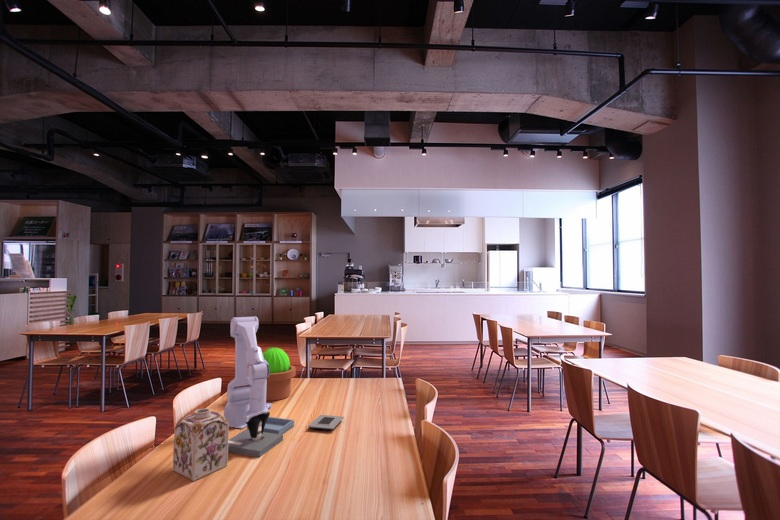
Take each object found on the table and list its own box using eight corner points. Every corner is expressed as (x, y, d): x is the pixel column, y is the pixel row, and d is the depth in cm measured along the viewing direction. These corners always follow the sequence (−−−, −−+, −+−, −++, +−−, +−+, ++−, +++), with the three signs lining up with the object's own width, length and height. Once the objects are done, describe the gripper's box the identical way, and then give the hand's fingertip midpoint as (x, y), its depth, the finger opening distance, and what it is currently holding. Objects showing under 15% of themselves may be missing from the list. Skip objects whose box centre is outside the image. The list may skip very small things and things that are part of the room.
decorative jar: (192, 482, 110) (195, 419, 111) (171, 471, 116) (173, 412, 117) (229, 465, 120) (231, 408, 121) (207, 456, 127) (209, 401, 127)
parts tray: (247, 432, 146) (247, 425, 146) (264, 422, 157) (264, 416, 157) (278, 437, 142) (278, 430, 143) (294, 426, 153) (294, 420, 153)
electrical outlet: (333, 433, 147) (333, 427, 147) (307, 431, 149) (307, 425, 149) (343, 421, 160) (343, 416, 160) (320, 419, 162) (320, 414, 162)
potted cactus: (288, 403, 181) (289, 350, 182) (242, 402, 182) (244, 350, 183) (299, 389, 203) (300, 343, 204) (259, 389, 203) (260, 342, 205)
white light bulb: (249, 445, 135) (250, 422, 135) (255, 442, 138) (256, 419, 138) (257, 446, 134) (258, 424, 134) (263, 443, 137) (263, 420, 137)
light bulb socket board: (219, 450, 131) (220, 444, 131) (246, 434, 144) (246, 428, 144) (259, 457, 126) (259, 450, 126) (282, 440, 140) (283, 434, 140)
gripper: (254, 404, 129) (253, 445, 128) (278, 392, 143) (277, 429, 142) (237, 402, 131) (236, 442, 130) (262, 390, 145) (261, 426, 144)
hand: (256, 435), depth 136 cm, fingers closed on white light bulb, 3 cm apart
